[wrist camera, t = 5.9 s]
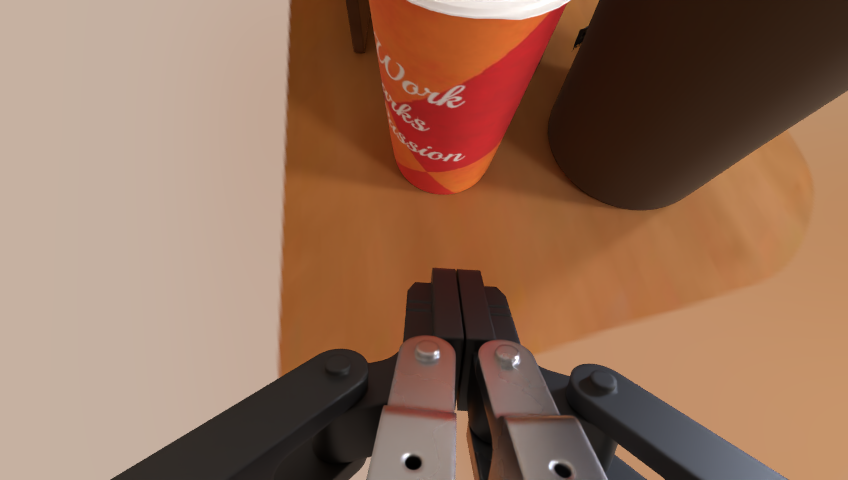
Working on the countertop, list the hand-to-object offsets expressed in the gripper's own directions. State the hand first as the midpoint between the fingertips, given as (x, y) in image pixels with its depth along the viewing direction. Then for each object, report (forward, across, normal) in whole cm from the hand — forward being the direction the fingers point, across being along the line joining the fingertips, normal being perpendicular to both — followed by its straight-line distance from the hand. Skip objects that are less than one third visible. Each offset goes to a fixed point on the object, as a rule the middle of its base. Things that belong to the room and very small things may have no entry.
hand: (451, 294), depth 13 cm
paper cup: (+13, 0, -2) cm, 13 cm away
